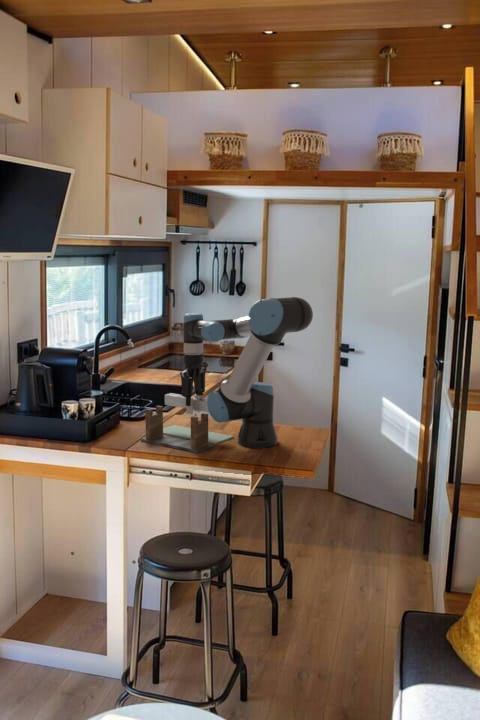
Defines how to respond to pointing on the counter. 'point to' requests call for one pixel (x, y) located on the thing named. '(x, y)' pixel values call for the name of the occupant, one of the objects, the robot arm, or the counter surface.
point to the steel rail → (181, 402)
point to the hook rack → (194, 445)
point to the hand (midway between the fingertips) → (193, 412)
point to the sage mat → (186, 433)
